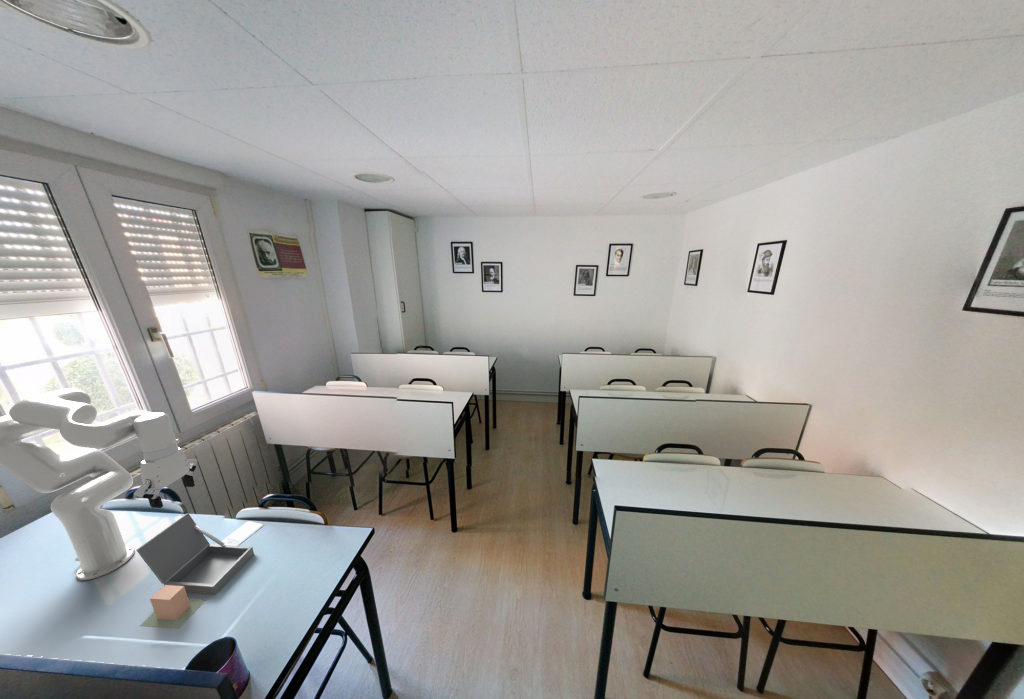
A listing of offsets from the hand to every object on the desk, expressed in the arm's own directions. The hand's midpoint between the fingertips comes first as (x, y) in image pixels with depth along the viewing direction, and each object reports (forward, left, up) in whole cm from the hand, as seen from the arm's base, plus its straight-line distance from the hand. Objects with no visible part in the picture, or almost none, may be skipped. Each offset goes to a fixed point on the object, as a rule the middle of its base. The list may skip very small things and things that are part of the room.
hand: (174, 496), depth 103 cm
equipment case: (+7, -3, -28) cm, 29 cm away
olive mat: (+11, -16, -28) cm, 34 cm away
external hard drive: (+6, +12, -29) cm, 32 cm away
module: (+11, -16, -28) cm, 34 cm away
